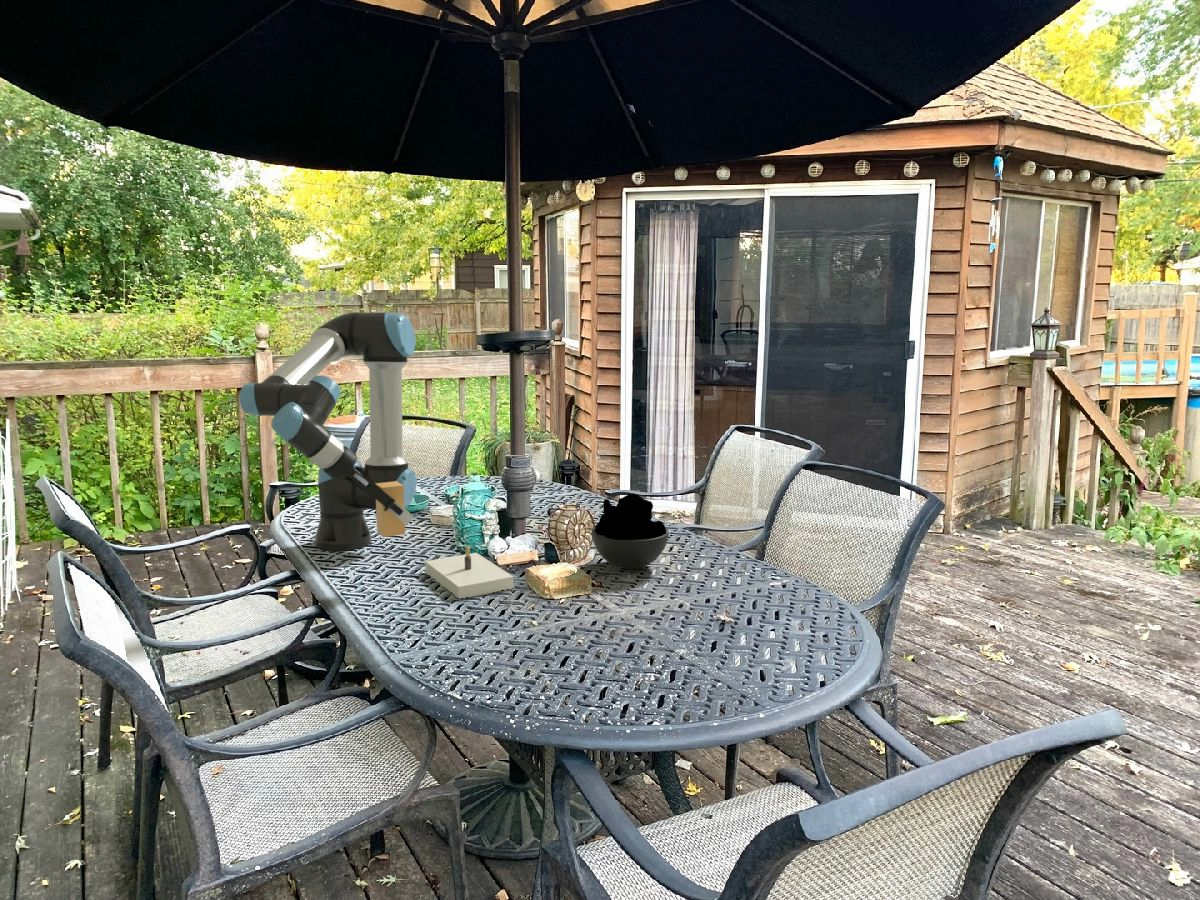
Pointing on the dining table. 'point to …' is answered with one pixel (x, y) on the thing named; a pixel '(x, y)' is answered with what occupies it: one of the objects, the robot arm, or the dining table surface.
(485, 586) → the plate
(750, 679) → the dining table surface
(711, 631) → the dining table surface
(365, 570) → the dining table surface
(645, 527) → the coal bowl
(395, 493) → the tan upright carton
